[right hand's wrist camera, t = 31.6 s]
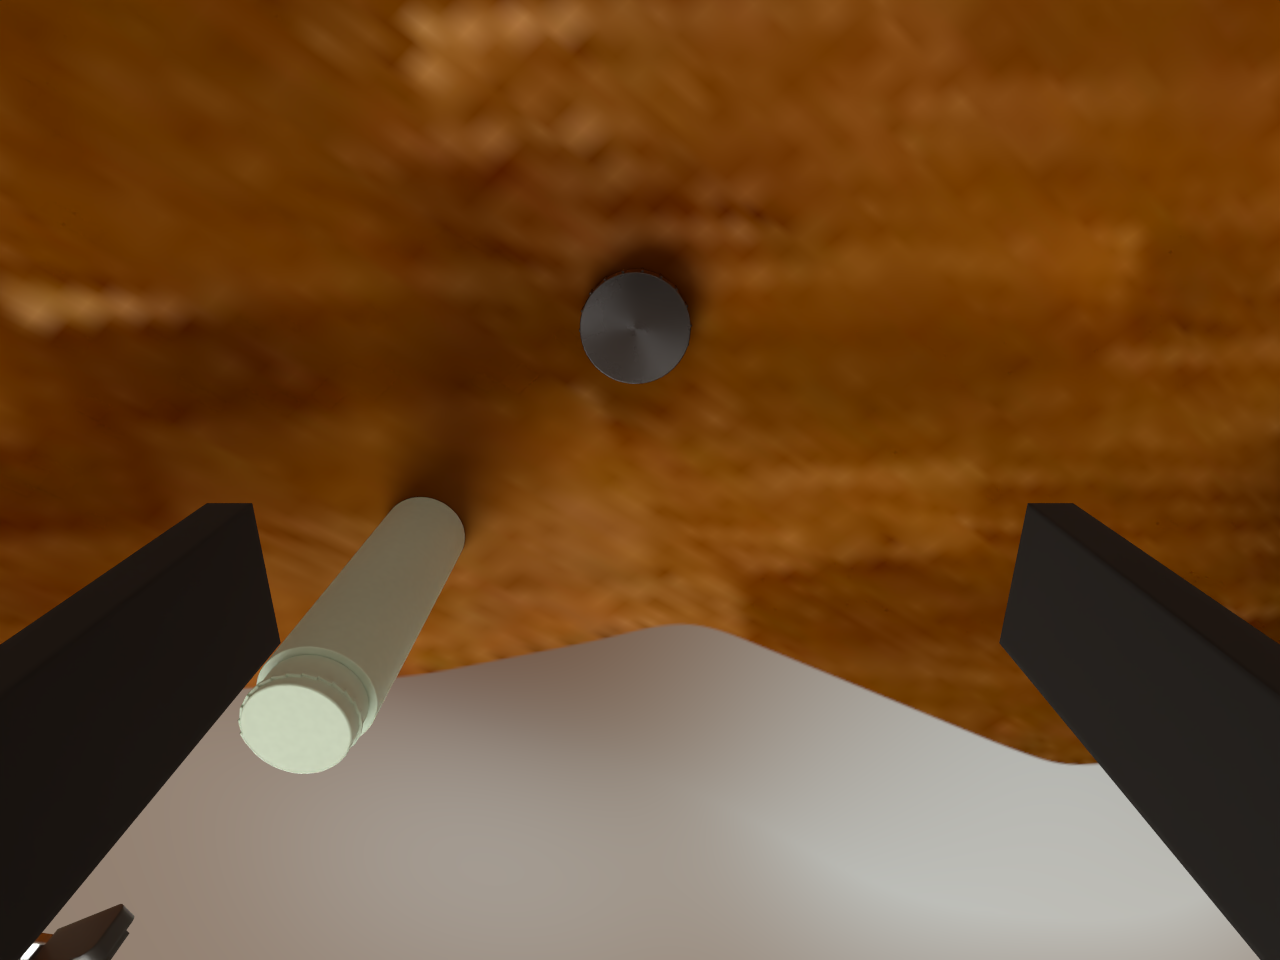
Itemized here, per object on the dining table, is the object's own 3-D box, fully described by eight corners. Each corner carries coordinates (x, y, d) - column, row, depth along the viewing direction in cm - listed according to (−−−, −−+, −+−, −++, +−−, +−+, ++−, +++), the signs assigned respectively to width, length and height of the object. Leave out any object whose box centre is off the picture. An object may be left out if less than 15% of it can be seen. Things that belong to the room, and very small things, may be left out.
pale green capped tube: (450, 488, 42) (331, 665, 26) (475, 560, 44) (378, 768, 28) (372, 506, 43) (208, 690, 26) (400, 576, 44) (261, 791, 28)
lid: (645, 396, 40) (645, 406, 38) (560, 332, 39) (556, 339, 37) (710, 313, 39) (715, 319, 37) (624, 244, 38) (623, 246, 36)
